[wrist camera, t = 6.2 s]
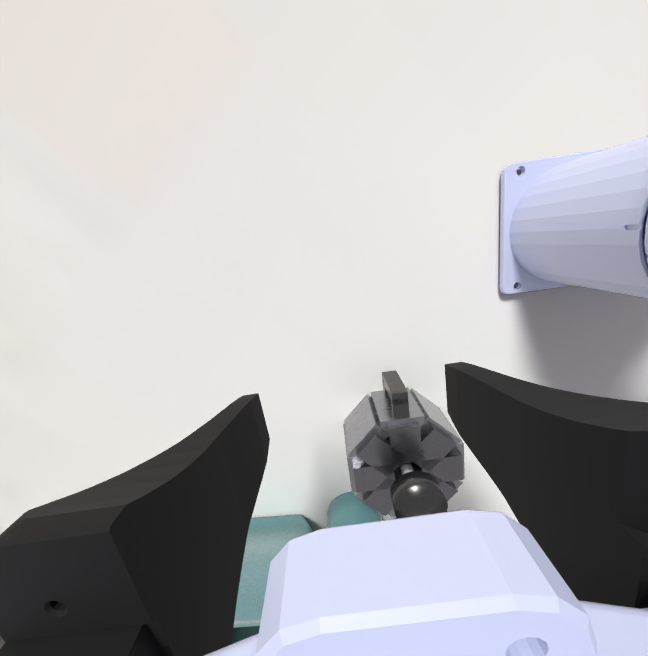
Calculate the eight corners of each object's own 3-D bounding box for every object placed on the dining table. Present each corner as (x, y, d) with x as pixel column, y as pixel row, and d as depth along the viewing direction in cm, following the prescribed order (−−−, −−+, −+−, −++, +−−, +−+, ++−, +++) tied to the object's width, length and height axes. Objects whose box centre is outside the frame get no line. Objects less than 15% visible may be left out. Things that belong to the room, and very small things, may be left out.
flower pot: (218, 500, 26) (166, 630, 17) (322, 491, 26) (322, 619, 17) (236, 576, 28) (199, 724, 20) (331, 568, 28) (335, 715, 19)
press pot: (438, 361, 22) (466, 389, 18) (443, 467, 25) (468, 513, 21) (336, 375, 23) (339, 405, 18) (351, 478, 25) (357, 526, 21)
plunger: (414, 420, 23) (446, 483, 17) (417, 454, 23) (448, 525, 18) (374, 426, 23) (392, 490, 17) (378, 459, 24) (396, 531, 18)
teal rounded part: (378, 488, 26) (389, 537, 21) (383, 530, 27) (394, 584, 23) (324, 494, 26) (324, 545, 21) (331, 536, 27) (332, 591, 23)
